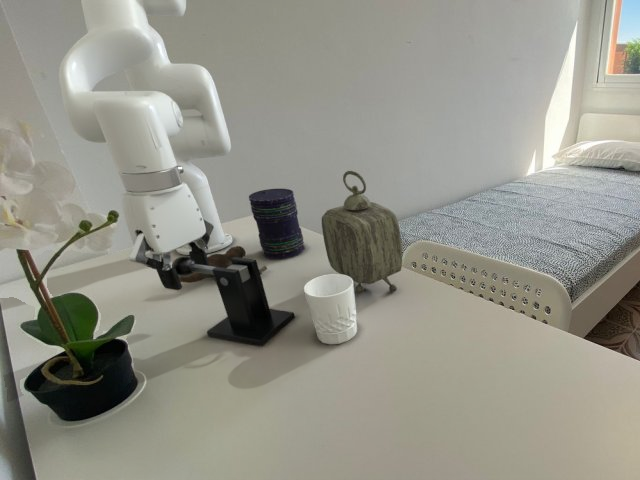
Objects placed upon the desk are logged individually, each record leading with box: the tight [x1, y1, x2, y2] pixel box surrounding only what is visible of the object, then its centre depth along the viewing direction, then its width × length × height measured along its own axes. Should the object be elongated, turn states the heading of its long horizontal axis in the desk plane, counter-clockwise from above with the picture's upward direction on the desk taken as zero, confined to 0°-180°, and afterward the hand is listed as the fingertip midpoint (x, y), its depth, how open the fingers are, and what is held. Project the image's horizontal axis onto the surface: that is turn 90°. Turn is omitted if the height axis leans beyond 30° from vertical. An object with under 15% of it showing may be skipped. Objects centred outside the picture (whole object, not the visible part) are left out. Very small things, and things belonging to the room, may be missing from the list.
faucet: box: [178, 245, 268, 284], centre depth 92 cm, size 5×17×15 cm
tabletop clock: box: [321, 170, 403, 293], centre depth 82 cm, size 14×9×25 cm, turn 50°
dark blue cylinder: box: [248, 188, 306, 261], centre depth 101 cm, size 10×10×15 cm
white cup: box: [303, 273, 358, 345], centre depth 71 cm, size 8×8×10 cm
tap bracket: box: [206, 257, 296, 347], centre depth 72 cm, size 11×9×13 cm
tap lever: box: [171, 255, 250, 282], centre depth 71 cm, size 14×4×4 cm, turn 76°
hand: (189, 278), depth 73 cm, fingers open, 5 cm apart
